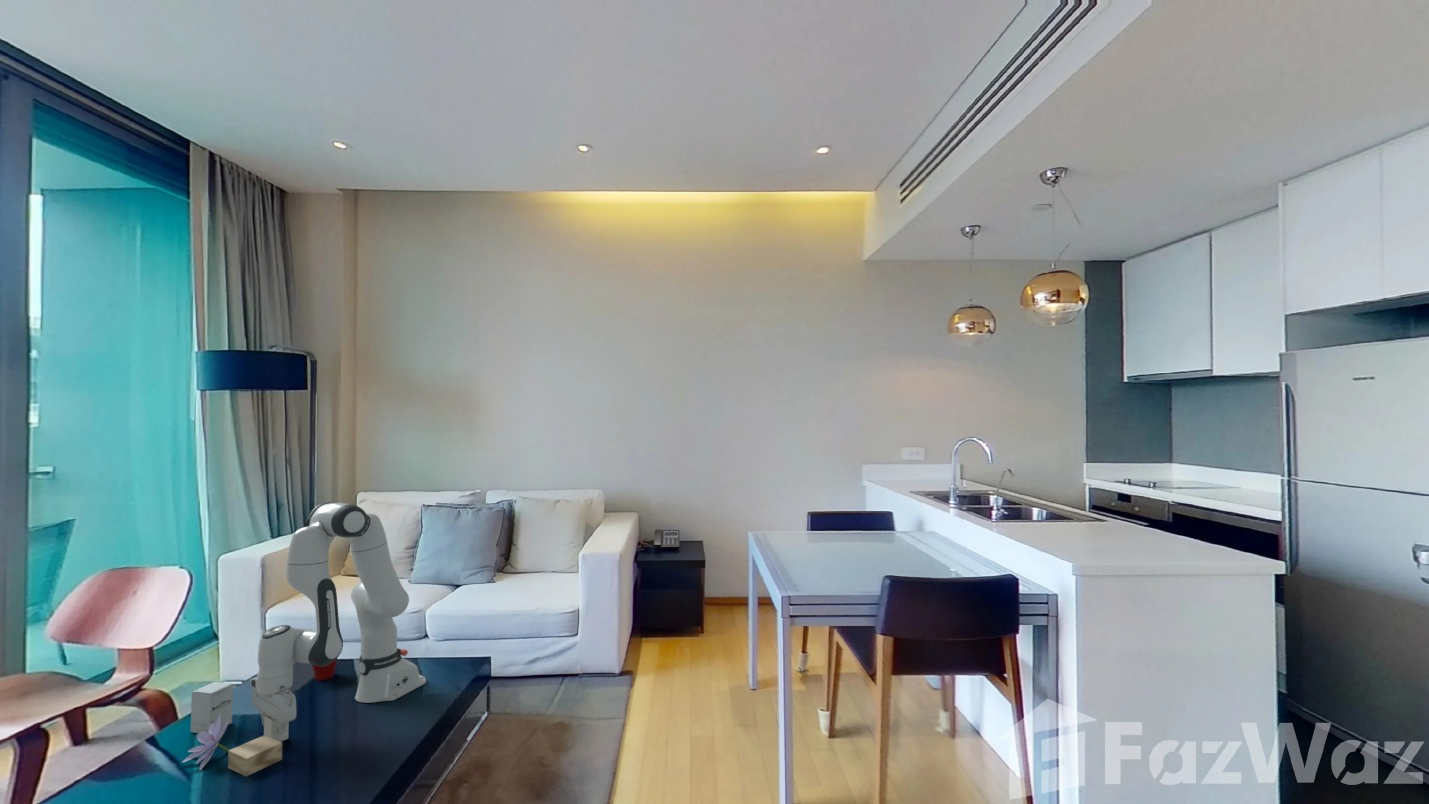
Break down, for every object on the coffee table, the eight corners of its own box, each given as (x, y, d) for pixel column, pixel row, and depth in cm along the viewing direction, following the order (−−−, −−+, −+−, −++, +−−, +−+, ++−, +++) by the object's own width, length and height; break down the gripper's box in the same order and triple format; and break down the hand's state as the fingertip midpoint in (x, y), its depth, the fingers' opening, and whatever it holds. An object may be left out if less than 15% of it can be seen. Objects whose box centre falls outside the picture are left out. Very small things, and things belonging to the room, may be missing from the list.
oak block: (264, 752, 176) (264, 735, 177) (281, 760, 172) (282, 742, 173) (228, 768, 168) (228, 750, 169) (246, 777, 164) (246, 758, 165)
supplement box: (209, 735, 185) (210, 693, 186) (189, 732, 187) (190, 691, 187) (233, 723, 193) (233, 682, 193) (214, 720, 194) (214, 680, 194)
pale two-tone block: (280, 734, 186) (281, 709, 186) (288, 738, 184) (288, 713, 184) (263, 741, 182) (264, 715, 182) (271, 745, 180) (271, 719, 180)
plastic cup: (303, 685, 219) (303, 652, 219) (311, 673, 229) (311, 641, 229) (338, 681, 222) (338, 648, 223) (344, 669, 233) (344, 638, 233)
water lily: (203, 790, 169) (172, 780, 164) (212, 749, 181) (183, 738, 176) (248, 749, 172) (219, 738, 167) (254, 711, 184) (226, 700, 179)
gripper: (303, 687, 180) (302, 734, 180) (271, 671, 191) (270, 715, 191) (279, 695, 175) (277, 743, 174) (247, 678, 186) (246, 724, 185)
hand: (273, 729), depth 183 cm, fingers open, 8 cm apart
